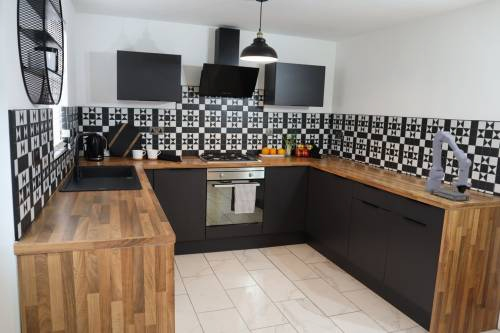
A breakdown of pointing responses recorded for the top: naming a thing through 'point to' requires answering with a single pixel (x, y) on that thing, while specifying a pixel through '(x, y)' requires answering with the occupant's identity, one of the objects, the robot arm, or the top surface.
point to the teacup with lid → (454, 186)
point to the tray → (450, 196)
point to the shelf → (450, 193)
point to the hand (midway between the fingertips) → (460, 195)
